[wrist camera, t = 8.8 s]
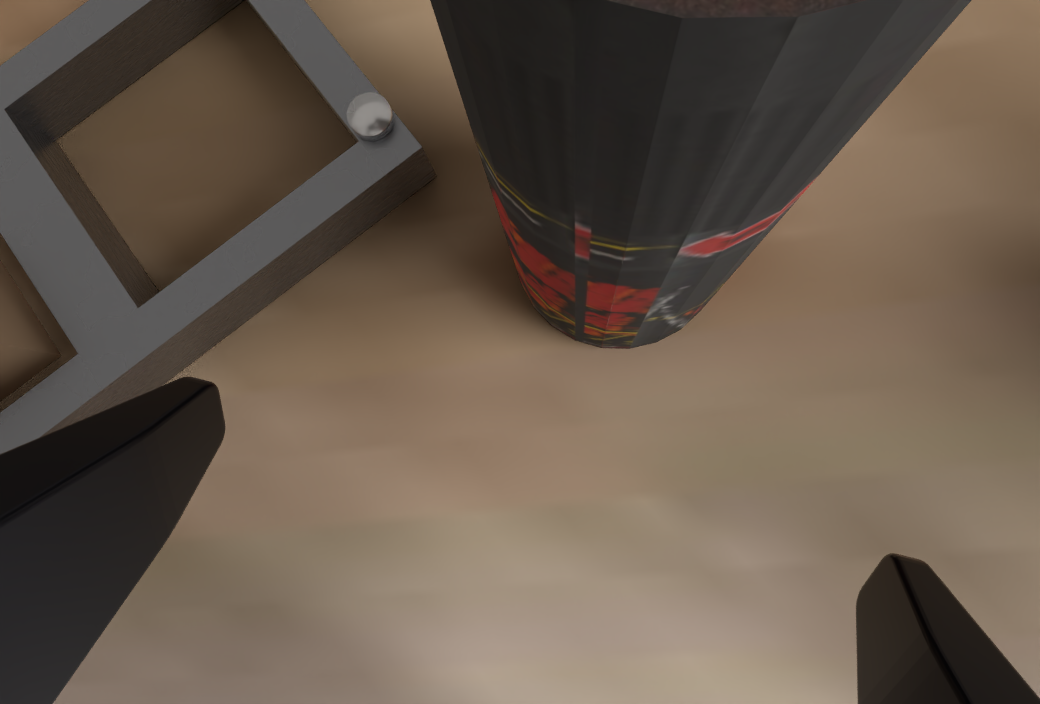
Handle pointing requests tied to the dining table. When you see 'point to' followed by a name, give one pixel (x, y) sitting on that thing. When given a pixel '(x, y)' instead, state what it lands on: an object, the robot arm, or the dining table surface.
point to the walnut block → (20, 338)
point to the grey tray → (99, 247)
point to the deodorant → (663, 135)
